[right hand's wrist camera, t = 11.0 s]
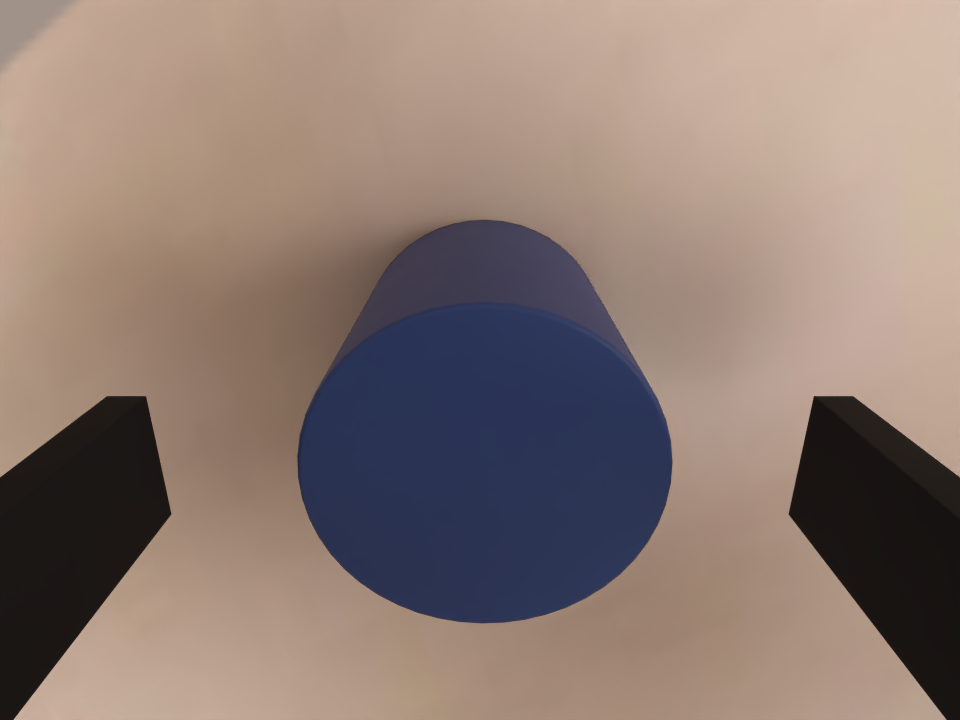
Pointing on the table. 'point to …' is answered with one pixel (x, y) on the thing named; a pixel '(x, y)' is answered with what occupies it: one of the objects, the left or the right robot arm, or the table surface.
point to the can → (484, 433)
